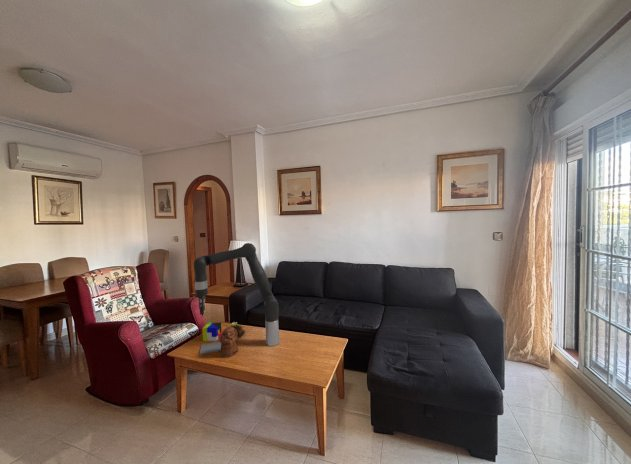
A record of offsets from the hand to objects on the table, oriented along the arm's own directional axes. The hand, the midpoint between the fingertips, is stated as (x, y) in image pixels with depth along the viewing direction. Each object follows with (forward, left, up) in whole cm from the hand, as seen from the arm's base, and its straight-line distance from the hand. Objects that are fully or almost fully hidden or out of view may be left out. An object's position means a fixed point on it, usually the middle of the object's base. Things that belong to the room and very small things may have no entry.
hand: (202, 312), depth 166 cm
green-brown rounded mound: (-20, -25, -29) cm, 43 cm away
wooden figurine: (-16, +5, -29) cm, 34 cm away
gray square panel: (-4, -8, -29) cm, 30 cm away
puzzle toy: (-4, -25, -29) cm, 39 cm away
